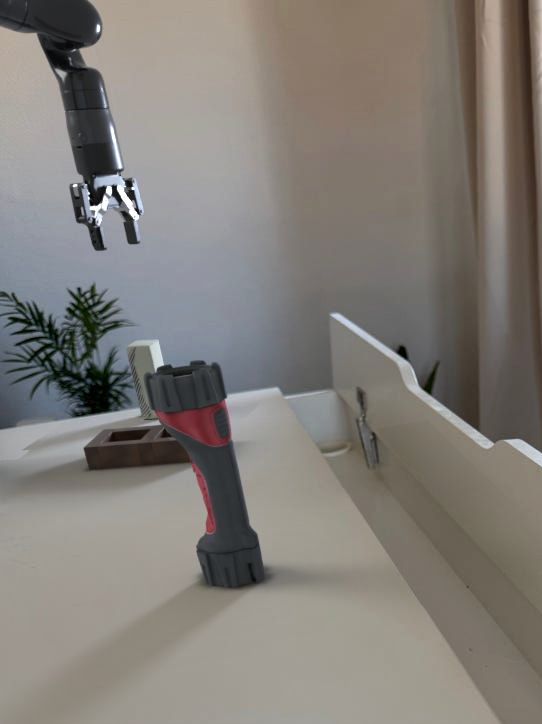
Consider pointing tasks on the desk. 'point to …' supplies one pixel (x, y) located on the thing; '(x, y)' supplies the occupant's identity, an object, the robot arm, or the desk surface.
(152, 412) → the box
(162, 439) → the socket block
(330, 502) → the desk surface
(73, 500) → the desk surface
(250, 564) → the flashlight
